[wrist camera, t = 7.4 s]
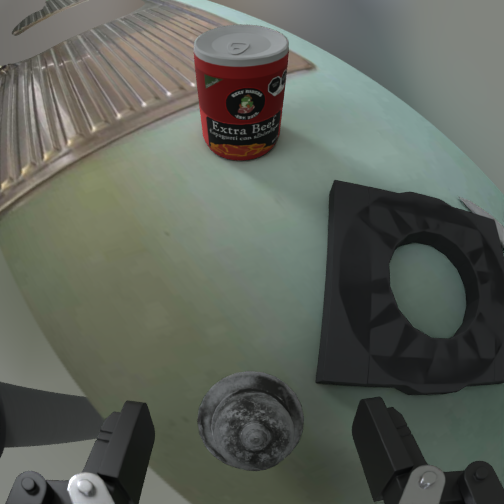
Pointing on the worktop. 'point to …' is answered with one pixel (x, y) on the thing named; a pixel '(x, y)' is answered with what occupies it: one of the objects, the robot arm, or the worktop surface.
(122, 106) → the worktop surface
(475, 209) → the chef's knife
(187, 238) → the worktop surface
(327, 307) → the black pad
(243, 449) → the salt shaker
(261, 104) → the canned food
